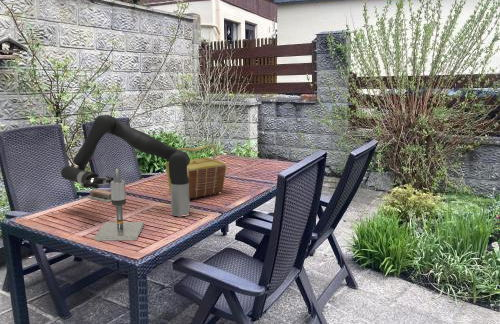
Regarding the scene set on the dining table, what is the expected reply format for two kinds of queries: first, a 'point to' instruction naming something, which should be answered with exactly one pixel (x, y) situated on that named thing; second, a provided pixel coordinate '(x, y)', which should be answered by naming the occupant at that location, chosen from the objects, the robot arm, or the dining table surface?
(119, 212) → the pipe stand
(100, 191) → the packaged product
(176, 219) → the dining table surface
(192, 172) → the picnic basket
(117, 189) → the metal sleeve
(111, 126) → the robot arm
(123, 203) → the black hex nut
